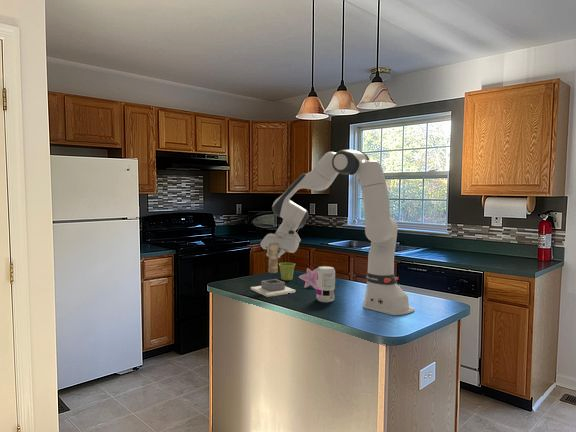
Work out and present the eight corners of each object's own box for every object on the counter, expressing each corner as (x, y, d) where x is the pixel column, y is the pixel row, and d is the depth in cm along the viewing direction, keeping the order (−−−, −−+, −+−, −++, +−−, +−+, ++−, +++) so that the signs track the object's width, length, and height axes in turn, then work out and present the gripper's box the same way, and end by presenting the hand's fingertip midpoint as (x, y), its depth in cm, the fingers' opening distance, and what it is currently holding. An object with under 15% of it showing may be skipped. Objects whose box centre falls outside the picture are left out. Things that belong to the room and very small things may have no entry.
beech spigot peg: (279, 272, 203) (279, 243, 202) (271, 273, 201) (272, 244, 200) (274, 270, 207) (275, 242, 206) (266, 271, 204) (267, 243, 203)
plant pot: (276, 280, 227) (276, 264, 227) (281, 277, 236) (281, 261, 236) (292, 282, 225) (292, 266, 224) (297, 278, 234) (297, 263, 233)
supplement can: (313, 301, 188) (314, 268, 187) (320, 296, 195) (321, 265, 194) (330, 303, 184) (331, 270, 183) (337, 299, 191) (337, 267, 190)
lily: (296, 287, 218) (295, 273, 212) (311, 275, 224) (311, 262, 219) (313, 298, 210) (313, 284, 205) (328, 286, 217) (328, 272, 212)
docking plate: (295, 292, 202) (295, 283, 202) (267, 296, 193) (267, 286, 193) (278, 285, 216) (278, 276, 215) (250, 289, 207) (250, 280, 206)
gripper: (265, 229, 214) (253, 250, 207) (298, 232, 202) (287, 254, 195) (270, 236, 218) (258, 257, 211) (303, 240, 206) (292, 262, 199)
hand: (272, 256), depth 203 cm, fingers closed on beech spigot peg, 4 cm apart
